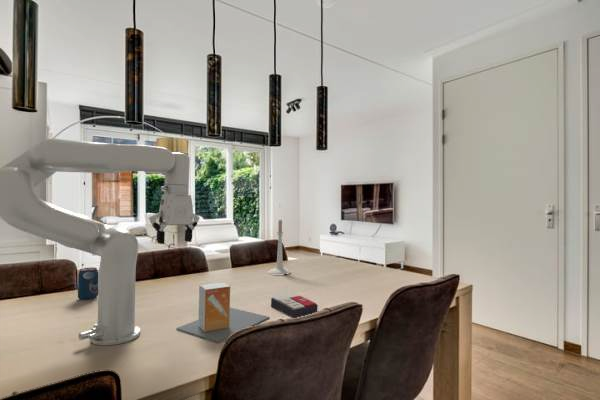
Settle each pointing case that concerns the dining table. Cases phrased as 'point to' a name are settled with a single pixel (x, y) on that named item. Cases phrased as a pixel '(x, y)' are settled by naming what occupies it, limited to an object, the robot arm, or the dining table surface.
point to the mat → (236, 322)
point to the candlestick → (279, 255)
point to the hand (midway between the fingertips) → (174, 242)
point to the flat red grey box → (293, 305)
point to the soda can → (87, 284)
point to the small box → (214, 306)
